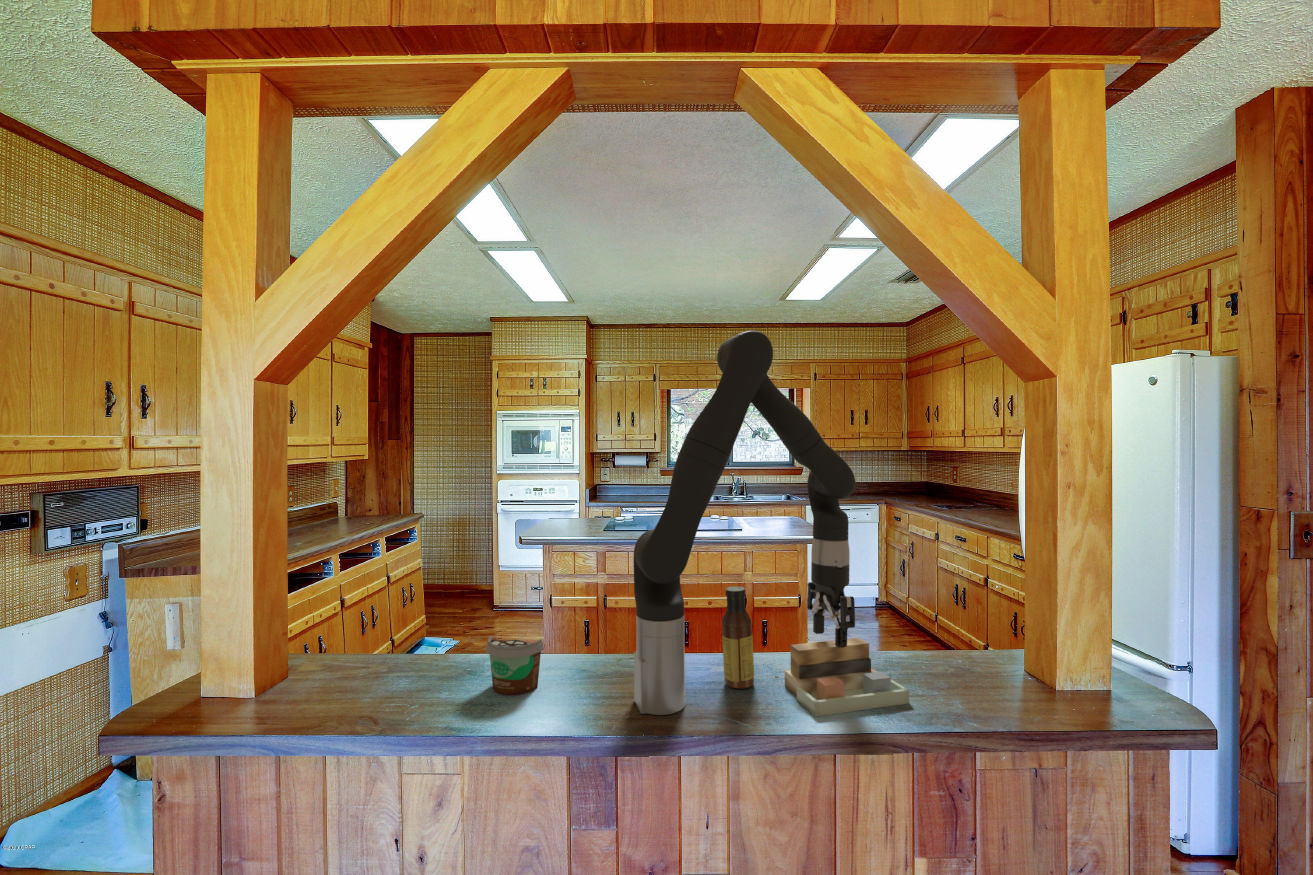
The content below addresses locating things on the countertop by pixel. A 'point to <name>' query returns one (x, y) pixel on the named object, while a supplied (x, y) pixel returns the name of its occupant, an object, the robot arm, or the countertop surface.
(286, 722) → the countertop surface
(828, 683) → the salmon pink block
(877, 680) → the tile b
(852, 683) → the board
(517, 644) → the food container
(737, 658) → the sauce bottle
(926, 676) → the countertop surface
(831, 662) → the brown and black bar
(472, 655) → the countertop surface
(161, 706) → the countertop surface
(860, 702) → the tray
